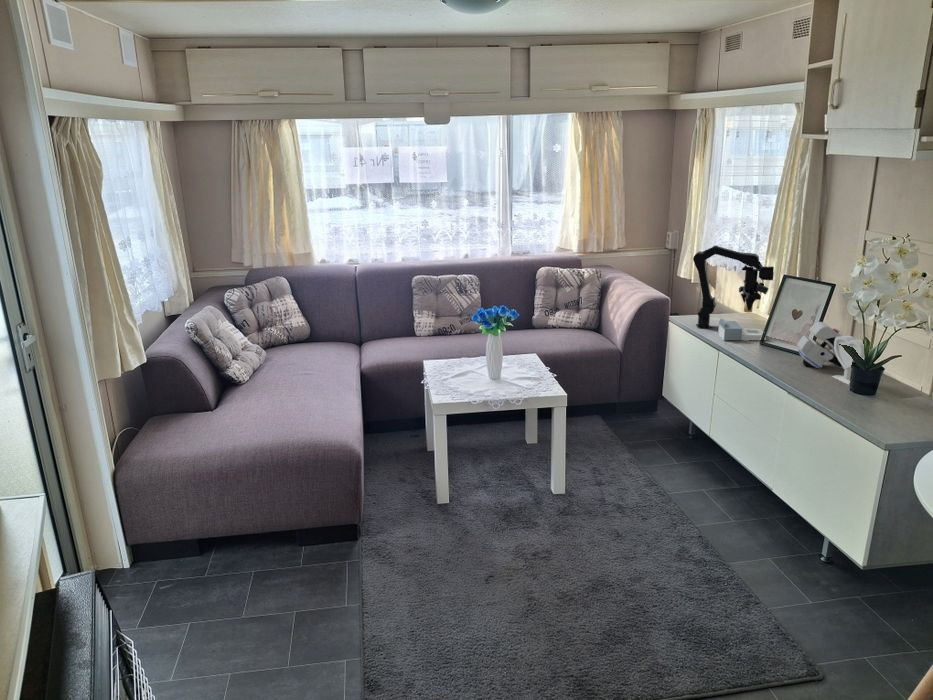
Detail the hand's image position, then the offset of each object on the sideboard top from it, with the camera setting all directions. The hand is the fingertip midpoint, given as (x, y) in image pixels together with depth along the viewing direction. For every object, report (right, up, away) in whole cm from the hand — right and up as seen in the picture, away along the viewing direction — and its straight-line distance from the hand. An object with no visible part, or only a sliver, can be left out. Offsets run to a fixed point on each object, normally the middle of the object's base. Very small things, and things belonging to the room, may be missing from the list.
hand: (748, 309), depth 361 cm
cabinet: (-12, -14, -8) cm, 20 cm away
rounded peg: (0, -1, 0) cm, 1 cm away
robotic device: (+11, -28, -52) cm, 60 cm away
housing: (-6, -14, -8) cm, 18 cm away
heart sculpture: (+13, -33, -69) cm, 78 cm away
